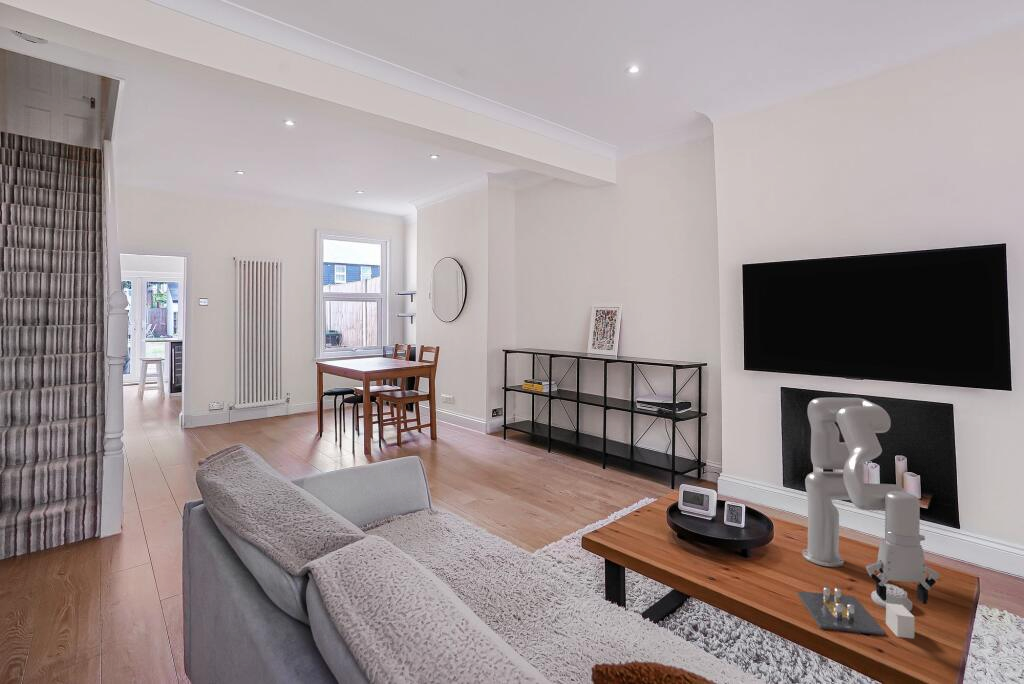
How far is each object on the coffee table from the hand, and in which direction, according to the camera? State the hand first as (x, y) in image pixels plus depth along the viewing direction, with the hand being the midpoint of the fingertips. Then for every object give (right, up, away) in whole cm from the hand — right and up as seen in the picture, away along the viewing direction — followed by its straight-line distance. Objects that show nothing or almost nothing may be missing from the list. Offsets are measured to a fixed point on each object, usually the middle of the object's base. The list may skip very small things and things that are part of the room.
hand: (901, 599), depth 138 cm
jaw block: (0, -9, +1) cm, 9 cm away
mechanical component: (+8, -9, +15) cm, 19 cm away
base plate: (-11, -9, +9) cm, 17 cm away
